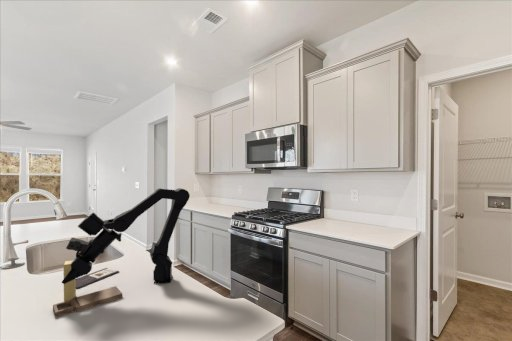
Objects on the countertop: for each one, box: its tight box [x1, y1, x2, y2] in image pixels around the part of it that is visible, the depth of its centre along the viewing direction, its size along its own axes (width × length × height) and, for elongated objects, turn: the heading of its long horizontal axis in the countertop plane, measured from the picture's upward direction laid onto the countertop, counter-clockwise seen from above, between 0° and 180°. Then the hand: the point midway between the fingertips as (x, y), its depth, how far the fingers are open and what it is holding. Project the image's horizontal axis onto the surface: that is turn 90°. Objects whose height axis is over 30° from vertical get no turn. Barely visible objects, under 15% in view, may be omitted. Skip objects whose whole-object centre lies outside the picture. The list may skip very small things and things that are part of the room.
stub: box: [63, 259, 77, 302], centre depth 95 cm, size 3×4×13 cm
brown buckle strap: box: [52, 285, 123, 318], centre depth 92 cm, size 19×8×2 cm, turn 133°
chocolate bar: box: [76, 267, 120, 290], centre depth 113 cm, size 9×1×18 cm
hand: (65, 278), depth 95 cm, fingers open, 9 cm apart
